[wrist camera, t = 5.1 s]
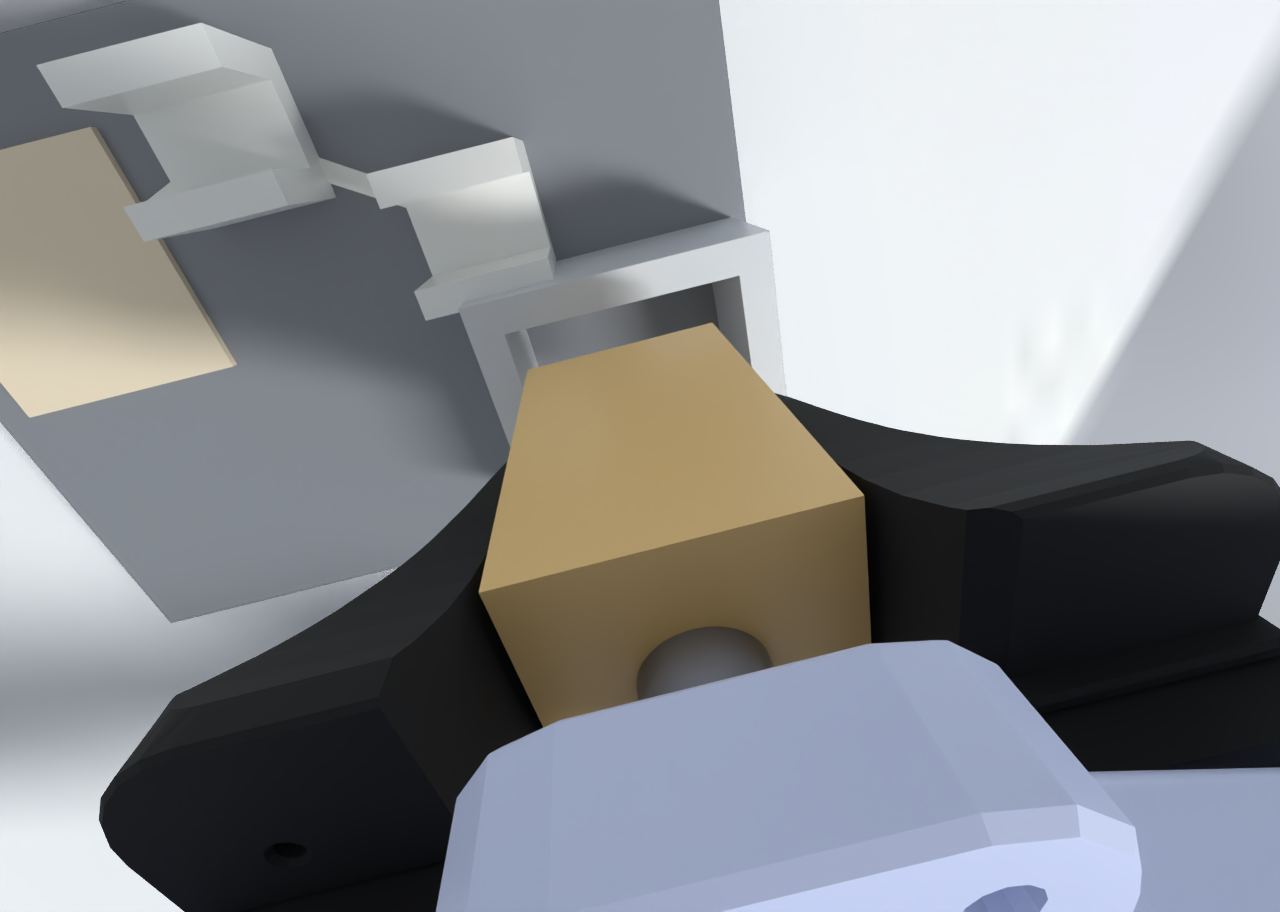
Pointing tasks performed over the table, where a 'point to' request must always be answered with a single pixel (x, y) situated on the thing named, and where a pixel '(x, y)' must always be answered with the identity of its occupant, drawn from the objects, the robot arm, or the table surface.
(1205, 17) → the table surface
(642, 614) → the connector plug
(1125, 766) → the robot arm
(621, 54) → the cable board
